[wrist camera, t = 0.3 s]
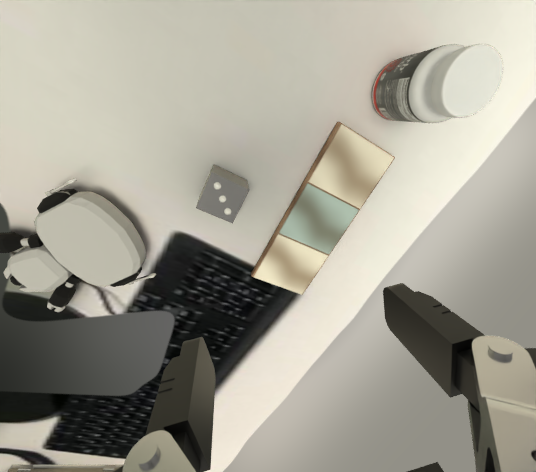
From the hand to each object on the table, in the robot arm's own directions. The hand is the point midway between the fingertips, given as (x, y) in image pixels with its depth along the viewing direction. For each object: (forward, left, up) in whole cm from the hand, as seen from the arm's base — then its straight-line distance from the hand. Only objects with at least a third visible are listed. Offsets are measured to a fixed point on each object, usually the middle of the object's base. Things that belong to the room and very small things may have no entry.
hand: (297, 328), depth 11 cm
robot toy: (+14, -15, -22) cm, 30 cm away
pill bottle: (-16, +9, -22) cm, 28 cm away
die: (+1, -3, -22) cm, 22 cm away
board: (0, +9, -21) cm, 23 cm away
